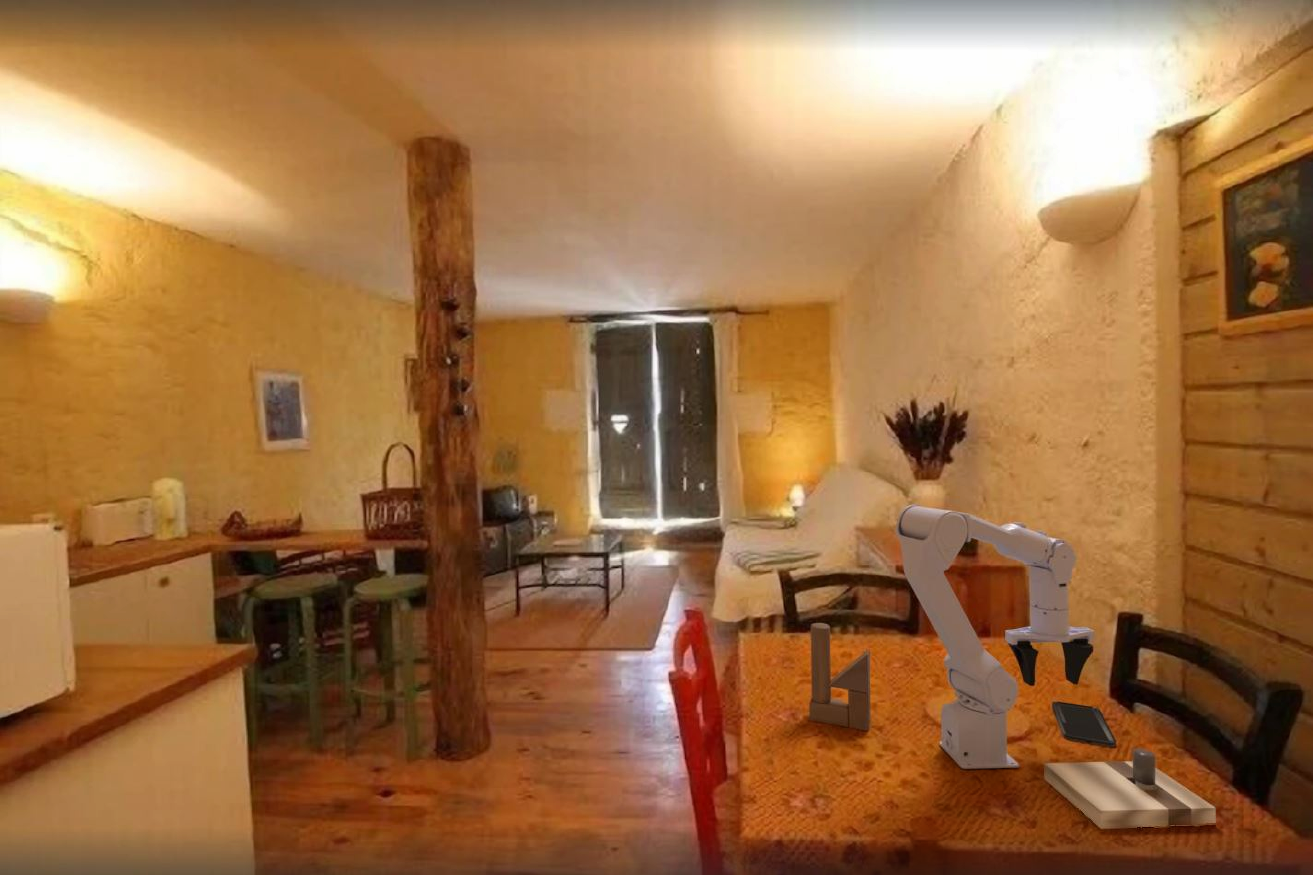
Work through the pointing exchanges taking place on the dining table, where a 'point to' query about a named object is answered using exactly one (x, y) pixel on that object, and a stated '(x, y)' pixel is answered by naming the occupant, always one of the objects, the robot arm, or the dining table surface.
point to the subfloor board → (1126, 796)
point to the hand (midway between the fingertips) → (1050, 682)
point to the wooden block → (838, 685)
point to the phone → (1083, 724)
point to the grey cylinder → (1144, 769)
